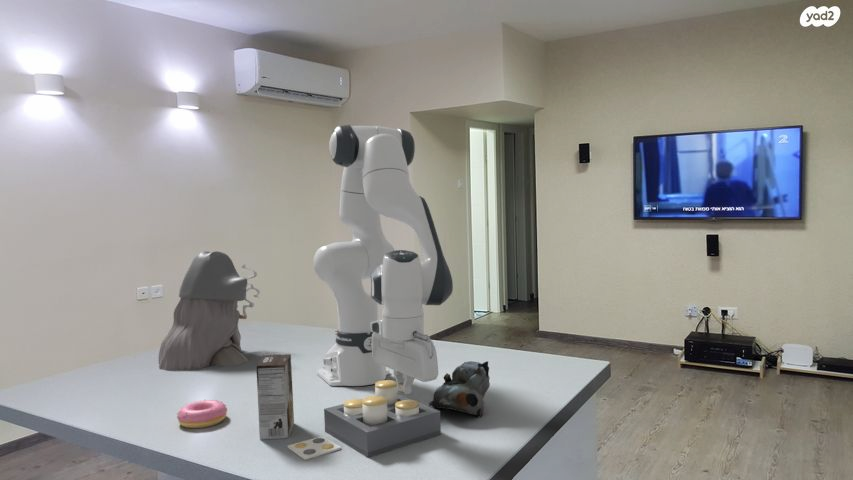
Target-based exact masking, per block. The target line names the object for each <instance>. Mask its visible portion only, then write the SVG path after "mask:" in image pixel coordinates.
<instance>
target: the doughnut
mask: <svg viewBox="0 0 853 480" xmlns="http://www.w3.org/2000/svg"><path fill="white" fill-rule="evenodd" d="M227 412H228V408H227V404H225V403H224V402H223V401H220V400H218V399H216V400H215V399H204V400H197V401H193V402H190V403H188V404H185V405H183V406H182V407H180V409H179V411H178V413H177V414H176V415H177V417H176V418H177V420H178V423H179V424H180V426H182V427H185V428H187V429H203V428H209V427H212V426H215V425H217V424H219V423H222V421H223V420H225V418H226V417H227Z"/></svg>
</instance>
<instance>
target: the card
mask: <svg viewBox="0 0 853 480" xmlns="http://www.w3.org/2000/svg"><path fill="white" fill-rule="evenodd" d="M287 448H288V449H289V450H291V451H292V452H293V453H294V454H295V455H297V456H299V457H300V458H301V459H303V460H304V461H306V460H309V459H313V458H316V457H319V456H320V457H321V456H323V455H326V454H330V453H333V452H336V451H339V450H342V446H340V445H338V444H336V442H334V441H332V440H331V439H329V438H327V437H325V436H324V435H320V436H318V437H314V438H309V439H306V440H303V441H299V442H297V443H292V444H289V445H287Z"/></svg>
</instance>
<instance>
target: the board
mask: <svg viewBox="0 0 853 480" xmlns="http://www.w3.org/2000/svg"><path fill="white" fill-rule="evenodd" d="M402 400H413V399H412V398H410V397H407V396H405V395H402V394H399V393H398V401H402ZM417 402H418V401H417ZM418 403H419V413H418V414H415V415H411V416H408V417H404V418H403V417H401V416H399V415H397V414H396V410H395V405H392V406H388V407H387V420H388V422H386V423H383V424H379V425H376V426H372V427H369V426H367V425H366V424H364V423H363V413H361V414H358V415H354V416H349V415H347V414H345V413H344V403H342V404H338V405H334V406H330V407H326V408H323V411H324V412H323V416H324V419H323V420H324V431H325V433H327V434H329V435H331V436H332V437H334V438H335V439H337V440H339V441H340V442H341V443H344V444H345V445H346V446H348V447H350V448H351V449H353V450H355V451H356V452H358V453H360V454H362V456H364V457H366V458H371V457H374V456H377V455H380V454H383V453H386V452H390V451H393V450H396V449H399V448H403V447H405V446H409V445H412V444H415V443H418V442H422V441H424V440H427V439H431V438H434V437H437V436H440V435H441V434H442V431H441V430H442V429H441V425H442V424H441V410H439V409H437V408H436V409H434V408H433V407H432V406H430V405H429V406H428V405H426V404H424V403H421V402H418Z"/></svg>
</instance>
